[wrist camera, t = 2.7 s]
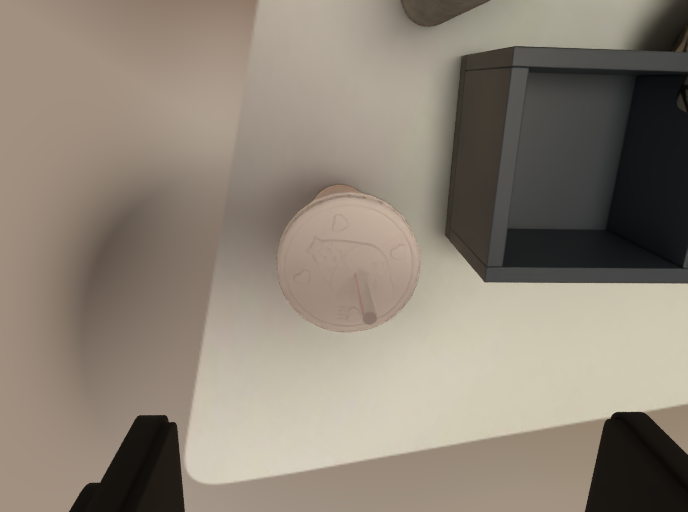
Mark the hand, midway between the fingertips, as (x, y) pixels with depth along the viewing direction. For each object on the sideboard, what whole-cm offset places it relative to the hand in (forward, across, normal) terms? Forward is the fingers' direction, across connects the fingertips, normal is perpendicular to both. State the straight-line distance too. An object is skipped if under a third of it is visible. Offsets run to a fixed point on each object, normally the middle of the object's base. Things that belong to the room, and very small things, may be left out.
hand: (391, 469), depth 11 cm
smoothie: (+22, 0, 0) cm, 22 cm away
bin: (+22, -12, -4) cm, 25 cm away
